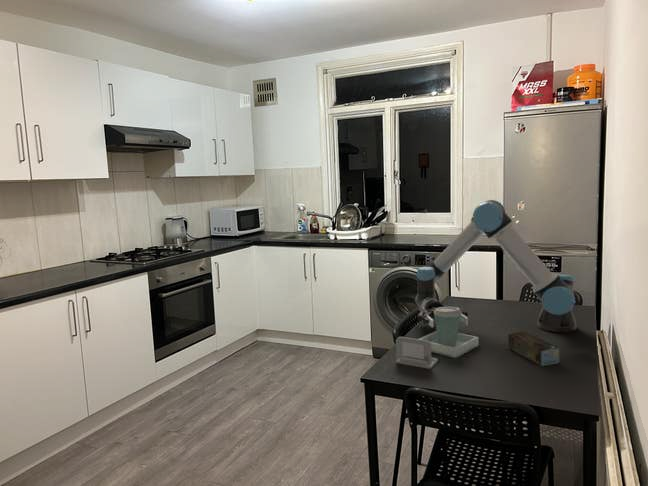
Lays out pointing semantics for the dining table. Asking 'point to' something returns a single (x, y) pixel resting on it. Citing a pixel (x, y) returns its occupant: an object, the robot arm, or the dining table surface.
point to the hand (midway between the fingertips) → (449, 322)
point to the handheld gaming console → (414, 352)
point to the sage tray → (461, 346)
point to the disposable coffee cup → (447, 325)
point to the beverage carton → (534, 348)
